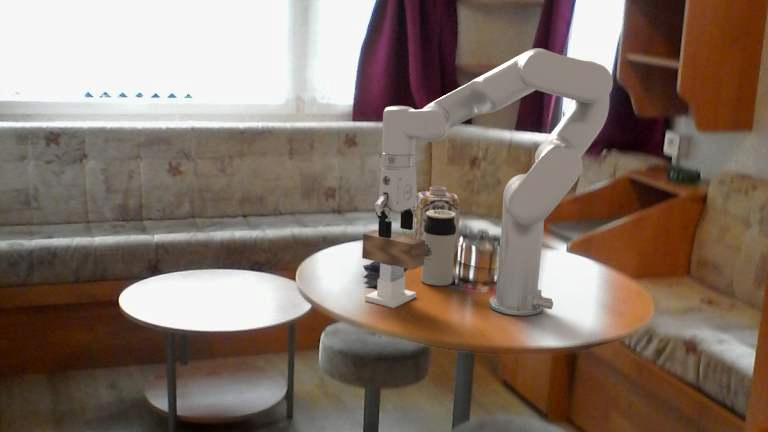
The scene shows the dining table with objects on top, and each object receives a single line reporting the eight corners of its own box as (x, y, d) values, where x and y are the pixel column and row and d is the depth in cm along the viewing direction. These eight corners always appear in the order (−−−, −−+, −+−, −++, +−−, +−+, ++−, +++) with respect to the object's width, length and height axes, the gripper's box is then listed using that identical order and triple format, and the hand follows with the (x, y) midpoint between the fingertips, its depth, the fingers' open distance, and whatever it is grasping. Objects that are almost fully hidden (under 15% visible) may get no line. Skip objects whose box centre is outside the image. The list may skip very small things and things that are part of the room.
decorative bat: (375, 244, 238) (411, 250, 237) (373, 258, 240) (409, 264, 238) (349, 274, 210) (390, 282, 209) (347, 290, 211) (388, 298, 210)
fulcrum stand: (415, 297, 209) (417, 260, 207) (393, 307, 201) (395, 269, 199) (387, 290, 213) (389, 254, 211) (364, 300, 205) (366, 263, 203)
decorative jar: (416, 253, 247) (420, 191, 243) (411, 242, 258) (415, 182, 254) (458, 254, 248) (462, 192, 244) (451, 243, 260) (455, 184, 255)
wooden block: (423, 265, 204) (425, 240, 202) (412, 269, 199) (414, 244, 198) (373, 253, 211) (374, 229, 209) (362, 258, 207) (363, 233, 205)
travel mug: (446, 276, 227) (450, 209, 223) (456, 286, 219) (461, 216, 215) (416, 277, 225) (421, 209, 220) (426, 287, 217) (430, 217, 213)
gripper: (392, 167, 190) (390, 243, 194) (431, 157, 205) (428, 228, 209) (363, 163, 194) (361, 238, 198) (403, 154, 209) (401, 223, 213)
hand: (395, 233), depth 203 cm, fingers open, 9 cm apart
